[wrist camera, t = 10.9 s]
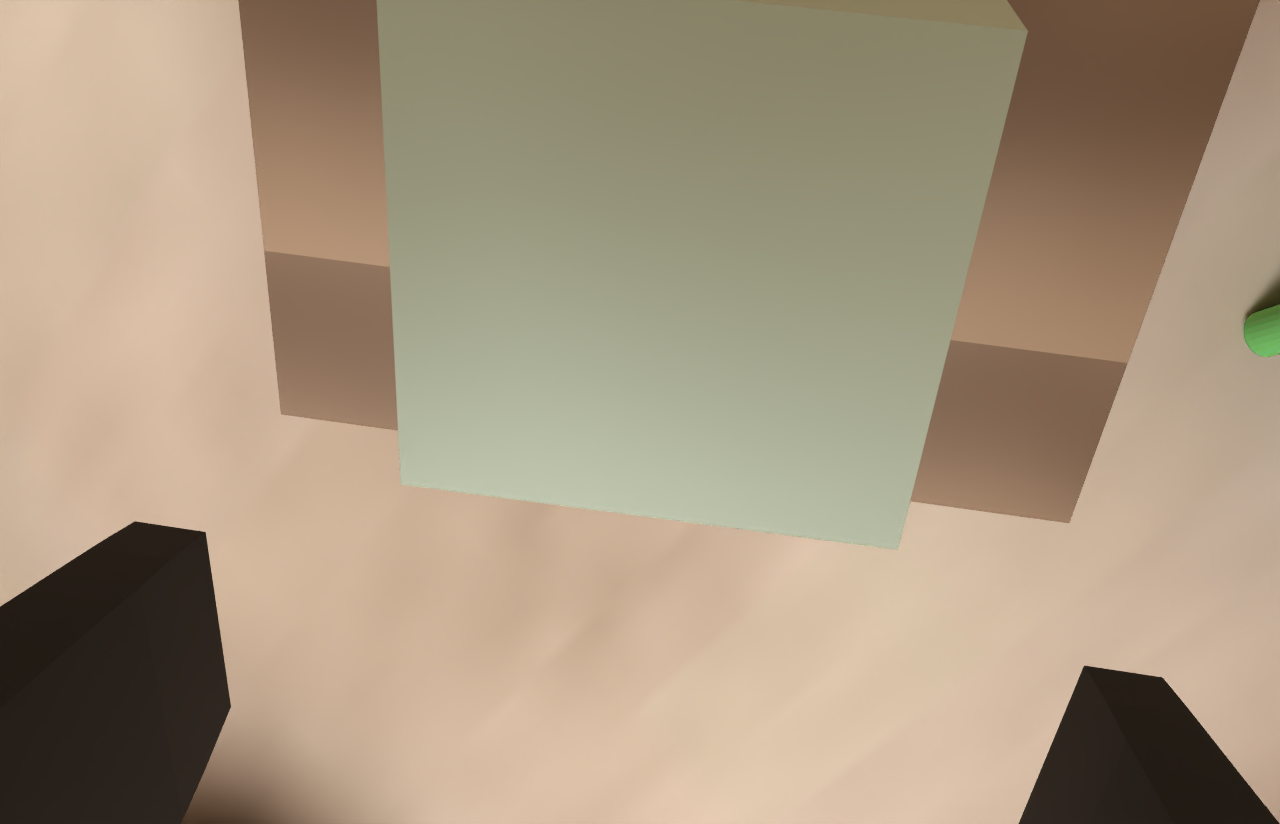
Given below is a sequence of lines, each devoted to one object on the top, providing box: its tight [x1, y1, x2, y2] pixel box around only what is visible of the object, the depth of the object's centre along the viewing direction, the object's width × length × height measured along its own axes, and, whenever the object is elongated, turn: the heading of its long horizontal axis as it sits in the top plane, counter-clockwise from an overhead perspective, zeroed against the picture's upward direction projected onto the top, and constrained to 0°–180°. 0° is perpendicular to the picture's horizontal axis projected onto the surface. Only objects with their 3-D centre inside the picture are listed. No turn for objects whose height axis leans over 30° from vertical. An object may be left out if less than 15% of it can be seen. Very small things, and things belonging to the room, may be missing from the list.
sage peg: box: [377, 0, 1028, 550], centre depth 13 cm, size 4×4×9 cm
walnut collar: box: [239, 0, 1260, 523], centre depth 15 cm, size 12×12×3 cm
